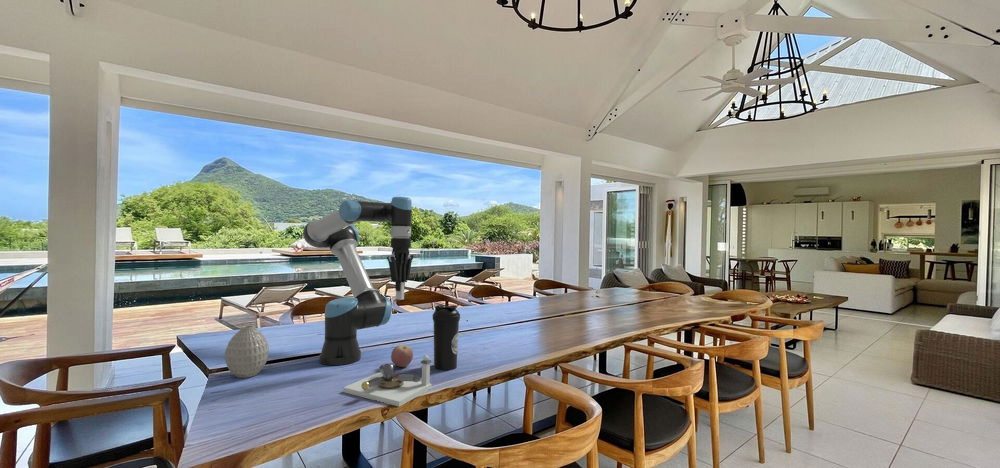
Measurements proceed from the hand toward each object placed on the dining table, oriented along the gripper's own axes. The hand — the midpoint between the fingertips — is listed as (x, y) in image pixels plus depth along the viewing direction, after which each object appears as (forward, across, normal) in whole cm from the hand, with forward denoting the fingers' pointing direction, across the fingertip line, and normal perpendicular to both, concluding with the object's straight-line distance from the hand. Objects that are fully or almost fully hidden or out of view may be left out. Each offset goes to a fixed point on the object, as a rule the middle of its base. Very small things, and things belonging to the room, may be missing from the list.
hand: (399, 299), depth 160 cm
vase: (+25, -36, +36) cm, 57 cm away
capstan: (+23, -25, -15) cm, 37 cm away
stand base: (+24, -23, -15) cm, 37 cm away
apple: (+25, -3, -4) cm, 25 cm away
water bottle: (+25, +5, -18) cm, 31 cm away
